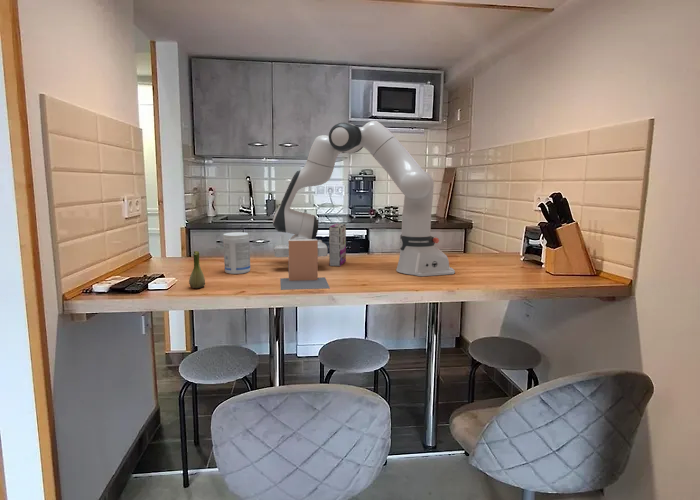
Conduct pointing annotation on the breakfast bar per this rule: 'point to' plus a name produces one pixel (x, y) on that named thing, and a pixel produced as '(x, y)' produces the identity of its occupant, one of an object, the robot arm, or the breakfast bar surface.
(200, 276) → the fennel bulb
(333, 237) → the candy bar box
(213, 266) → the breakfast bar surface
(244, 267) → the supplement tub
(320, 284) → the felt mat
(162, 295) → the breakfast bar surface
